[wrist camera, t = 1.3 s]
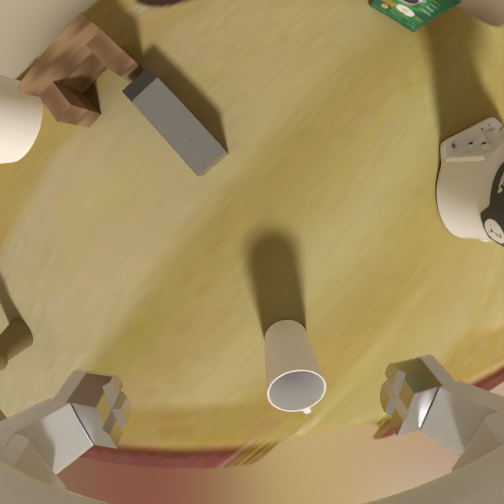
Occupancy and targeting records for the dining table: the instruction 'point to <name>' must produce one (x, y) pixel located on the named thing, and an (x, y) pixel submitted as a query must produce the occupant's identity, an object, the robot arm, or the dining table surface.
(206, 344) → the dining table surface
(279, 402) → the mug
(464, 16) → the dining table surface
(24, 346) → the cork
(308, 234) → the dining table surface
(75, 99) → the wooden chair block
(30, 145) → the canister
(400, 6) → the coffee box
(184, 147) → the rectangular grey metal block
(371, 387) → the dining table surface
